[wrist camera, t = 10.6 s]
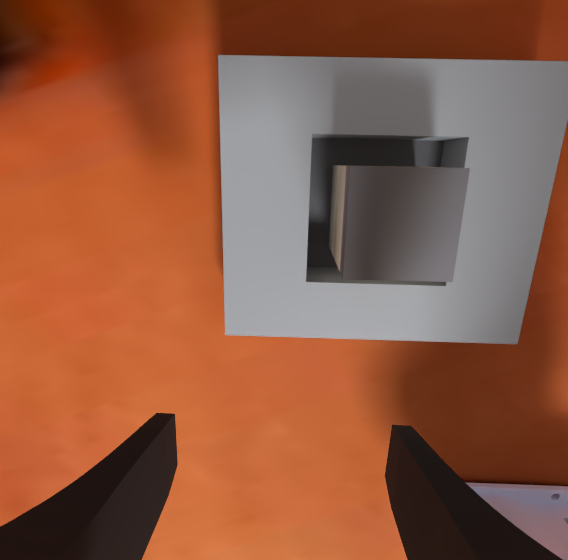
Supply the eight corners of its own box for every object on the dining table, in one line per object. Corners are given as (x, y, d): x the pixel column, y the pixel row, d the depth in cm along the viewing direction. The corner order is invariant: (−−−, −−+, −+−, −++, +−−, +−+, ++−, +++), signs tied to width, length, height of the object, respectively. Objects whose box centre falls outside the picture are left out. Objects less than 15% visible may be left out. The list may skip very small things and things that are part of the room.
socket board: (533, 78, 17) (580, 61, 15) (486, 319, 21) (517, 344, 18) (230, 72, 18) (218, 54, 15) (234, 311, 21) (225, 334, 18)
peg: (415, 166, 18) (470, 168, 13) (406, 247, 20) (452, 282, 14) (332, 165, 19) (350, 166, 13) (328, 245, 20) (342, 279, 14)
